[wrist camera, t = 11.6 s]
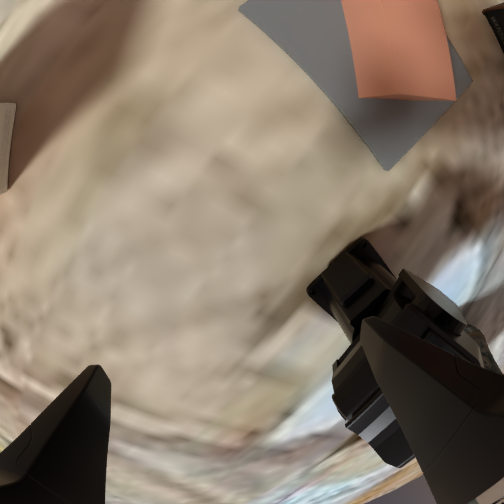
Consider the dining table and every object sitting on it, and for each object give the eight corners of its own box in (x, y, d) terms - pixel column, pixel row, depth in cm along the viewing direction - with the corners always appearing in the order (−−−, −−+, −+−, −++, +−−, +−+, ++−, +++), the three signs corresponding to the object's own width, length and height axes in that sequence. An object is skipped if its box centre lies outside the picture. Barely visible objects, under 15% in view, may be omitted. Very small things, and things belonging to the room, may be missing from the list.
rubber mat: (468, 81, 18) (473, 81, 17) (384, 169, 21) (388, 171, 20) (359, -57, 12) (362, -60, 11) (238, 10, 15) (239, 7, 14)
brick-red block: (456, 100, 13) (427, -28, 9) (398, 93, 13) (365, -48, 9) (412, 100, 18) (391, -10, 14) (358, 98, 18) (335, -20, 13)
